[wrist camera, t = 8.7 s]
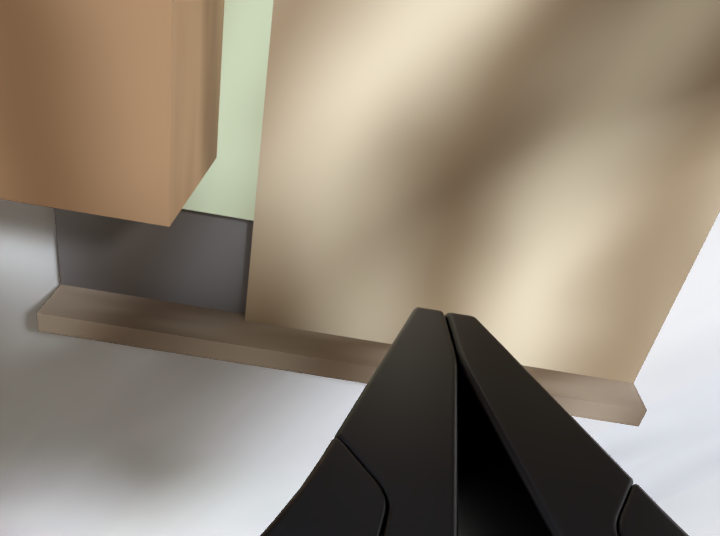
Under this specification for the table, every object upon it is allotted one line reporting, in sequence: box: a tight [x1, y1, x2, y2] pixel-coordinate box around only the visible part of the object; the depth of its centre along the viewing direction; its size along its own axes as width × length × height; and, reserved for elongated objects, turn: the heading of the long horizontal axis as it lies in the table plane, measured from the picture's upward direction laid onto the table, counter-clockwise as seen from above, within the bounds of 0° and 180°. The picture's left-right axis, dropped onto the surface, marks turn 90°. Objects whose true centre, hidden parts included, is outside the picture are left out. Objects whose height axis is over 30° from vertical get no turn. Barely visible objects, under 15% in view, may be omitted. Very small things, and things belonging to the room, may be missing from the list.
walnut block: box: [0, 0, 225, 227], centre depth 17 cm, size 6×6×5 cm
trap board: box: [36, 0, 720, 426], centre depth 19 cm, size 22×20×2 cm
